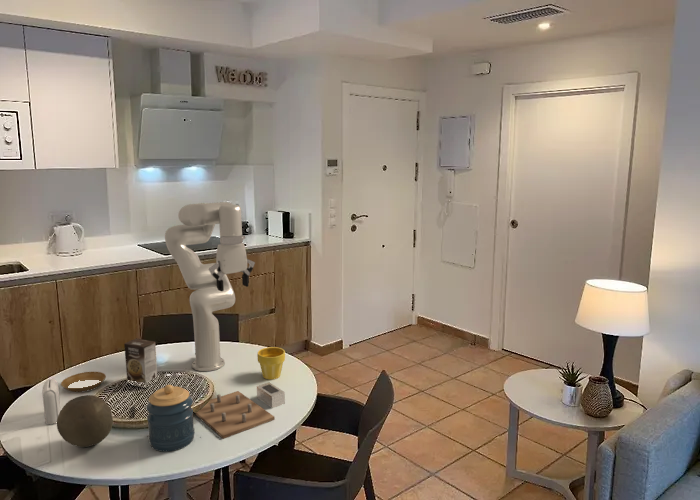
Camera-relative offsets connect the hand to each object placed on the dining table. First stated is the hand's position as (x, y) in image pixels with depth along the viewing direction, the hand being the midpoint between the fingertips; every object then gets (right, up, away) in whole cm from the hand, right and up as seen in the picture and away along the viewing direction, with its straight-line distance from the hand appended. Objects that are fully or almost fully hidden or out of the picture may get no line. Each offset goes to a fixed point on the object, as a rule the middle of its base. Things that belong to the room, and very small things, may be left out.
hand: (233, 288), depth 190 cm
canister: (-12, -43, -30) cm, 54 cm away
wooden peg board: (+2, -40, -14) cm, 43 cm away
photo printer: (-55, -41, -16) cm, 70 cm away
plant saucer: (-56, -37, +7) cm, 67 cm away
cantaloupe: (-35, -44, -32) cm, 65 cm away
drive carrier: (+14, -39, -5) cm, 41 cm away
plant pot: (+11, -35, +15) cm, 40 cm away
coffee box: (-35, -36, +9) cm, 51 cm away
